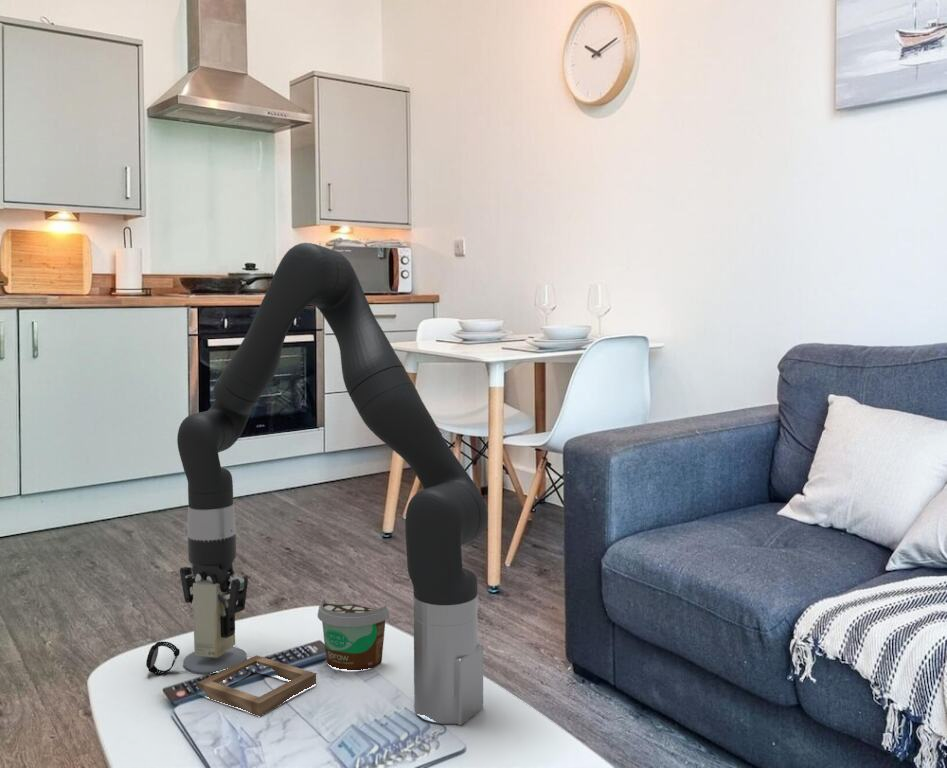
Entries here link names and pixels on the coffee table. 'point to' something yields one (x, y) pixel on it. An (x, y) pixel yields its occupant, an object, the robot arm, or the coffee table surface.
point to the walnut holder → (251, 702)
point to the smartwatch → (153, 656)
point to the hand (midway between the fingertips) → (214, 632)
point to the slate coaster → (214, 661)
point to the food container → (353, 635)
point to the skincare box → (209, 621)
